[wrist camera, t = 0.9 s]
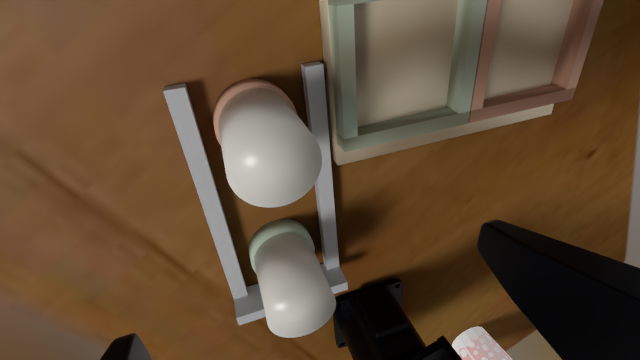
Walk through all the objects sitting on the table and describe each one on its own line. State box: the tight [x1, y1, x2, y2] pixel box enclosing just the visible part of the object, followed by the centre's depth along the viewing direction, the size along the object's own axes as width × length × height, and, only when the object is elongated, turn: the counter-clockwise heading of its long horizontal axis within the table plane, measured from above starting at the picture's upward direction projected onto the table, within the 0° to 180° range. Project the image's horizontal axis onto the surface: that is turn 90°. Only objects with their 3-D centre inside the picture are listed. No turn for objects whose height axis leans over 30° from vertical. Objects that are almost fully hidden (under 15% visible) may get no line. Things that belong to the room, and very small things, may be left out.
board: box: [319, 0, 604, 165], centre depth 19 cm, size 11×16×2 cm
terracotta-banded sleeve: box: [213, 78, 322, 208], centre depth 16 cm, size 4×4×6 cm
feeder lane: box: [163, 61, 348, 325], centre depth 21 cm, size 16×8×2 cm, turn 5°
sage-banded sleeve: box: [249, 219, 336, 338], centre depth 21 cm, size 4×4×6 cm
